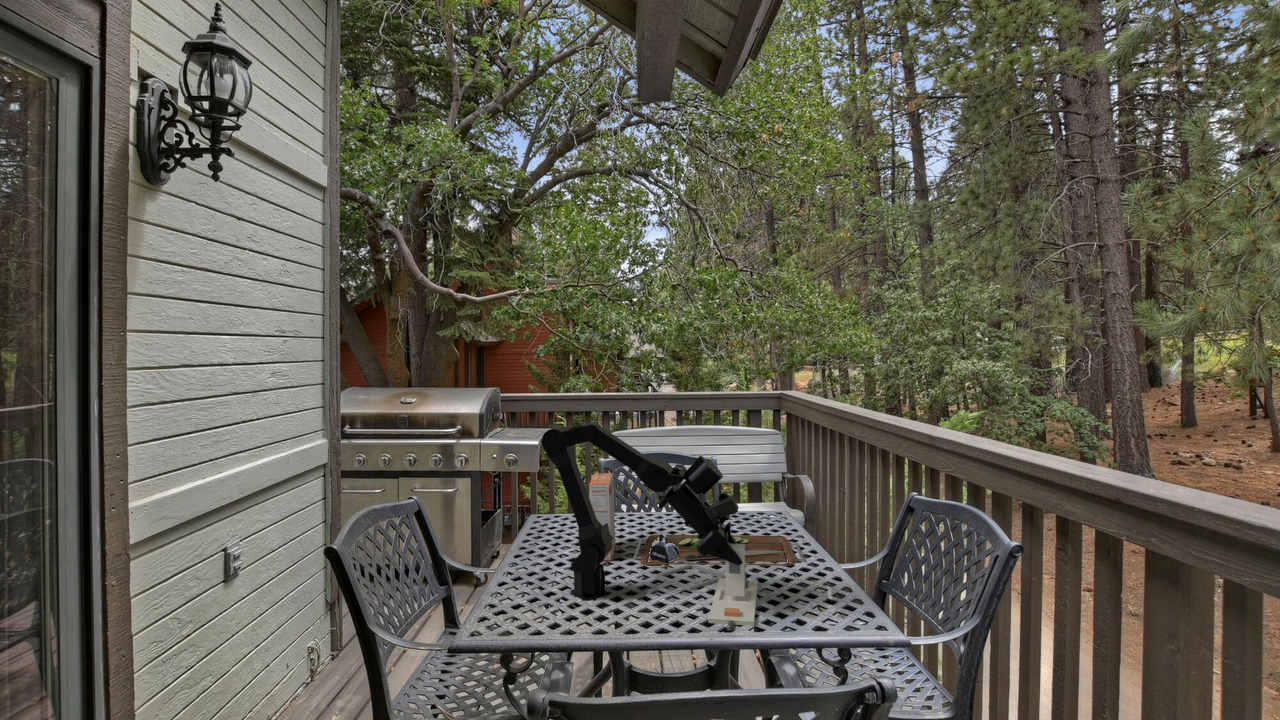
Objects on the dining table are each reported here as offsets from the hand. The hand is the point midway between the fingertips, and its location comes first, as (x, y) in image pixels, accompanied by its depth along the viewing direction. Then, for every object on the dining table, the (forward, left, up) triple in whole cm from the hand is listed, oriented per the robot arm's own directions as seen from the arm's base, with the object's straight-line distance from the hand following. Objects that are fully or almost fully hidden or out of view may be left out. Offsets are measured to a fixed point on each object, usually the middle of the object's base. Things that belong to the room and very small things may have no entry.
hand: (741, 560), depth 147 cm
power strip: (-3, -1, -9) cm, 10 cm away
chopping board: (+22, +29, -10) cm, 38 cm away
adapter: (-1, +1, -7) cm, 7 cm away
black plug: (+5, +5, -9) cm, 11 cm away
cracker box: (-2, +49, -10) cm, 50 cm away
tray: (+1, +18, -9) cm, 20 cm away
